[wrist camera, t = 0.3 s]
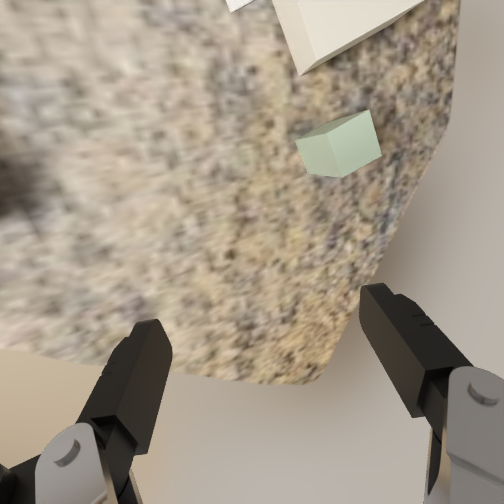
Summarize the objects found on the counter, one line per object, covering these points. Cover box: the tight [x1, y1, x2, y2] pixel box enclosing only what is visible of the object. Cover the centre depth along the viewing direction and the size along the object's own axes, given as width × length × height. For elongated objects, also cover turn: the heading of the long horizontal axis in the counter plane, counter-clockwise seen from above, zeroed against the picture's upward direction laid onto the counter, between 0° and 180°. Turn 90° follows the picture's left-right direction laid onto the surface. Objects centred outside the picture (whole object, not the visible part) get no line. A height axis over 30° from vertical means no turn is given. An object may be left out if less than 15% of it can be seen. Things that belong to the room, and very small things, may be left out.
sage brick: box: [295, 110, 382, 178], centre depth 28 cm, size 4×4×9 cm
